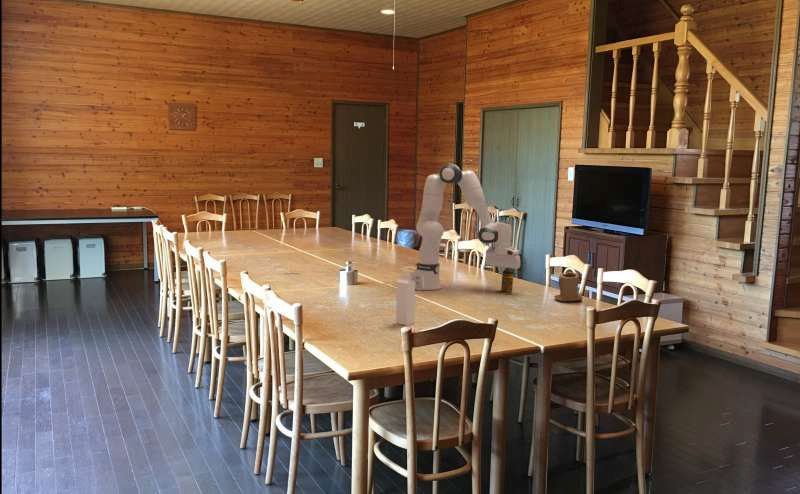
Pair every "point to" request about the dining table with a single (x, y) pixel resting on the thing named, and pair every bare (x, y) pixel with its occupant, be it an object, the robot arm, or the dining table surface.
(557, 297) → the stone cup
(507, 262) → the robot arm
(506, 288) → the condiment
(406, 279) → the milk
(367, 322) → the dining table surface
